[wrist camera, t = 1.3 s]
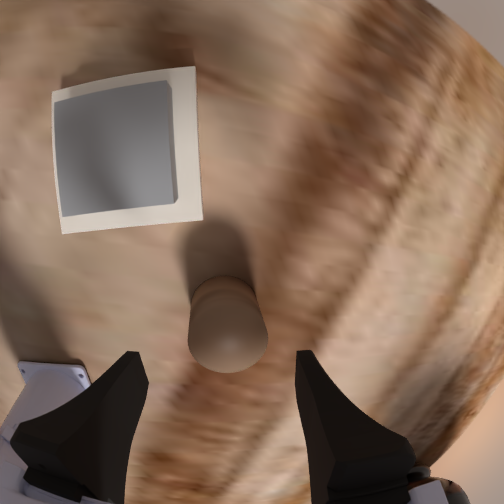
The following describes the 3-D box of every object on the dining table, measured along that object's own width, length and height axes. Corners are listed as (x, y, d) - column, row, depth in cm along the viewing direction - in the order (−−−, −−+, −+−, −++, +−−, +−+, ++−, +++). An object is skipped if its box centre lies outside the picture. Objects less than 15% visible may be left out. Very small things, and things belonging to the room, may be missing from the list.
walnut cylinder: (257, 331, 25) (268, 368, 20) (195, 336, 24) (193, 375, 20) (255, 272, 23) (267, 302, 19) (187, 278, 23) (182, 309, 18)
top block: (178, 198, 19) (174, 203, 17) (78, 210, 19) (62, 217, 16) (171, 89, 17) (166, 80, 15) (70, 107, 17) (54, 102, 14)
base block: (203, 213, 22) (202, 220, 20) (75, 226, 21) (62, 234, 19) (196, 75, 19) (195, 66, 17) (66, 97, 18) (51, 91, 16)
